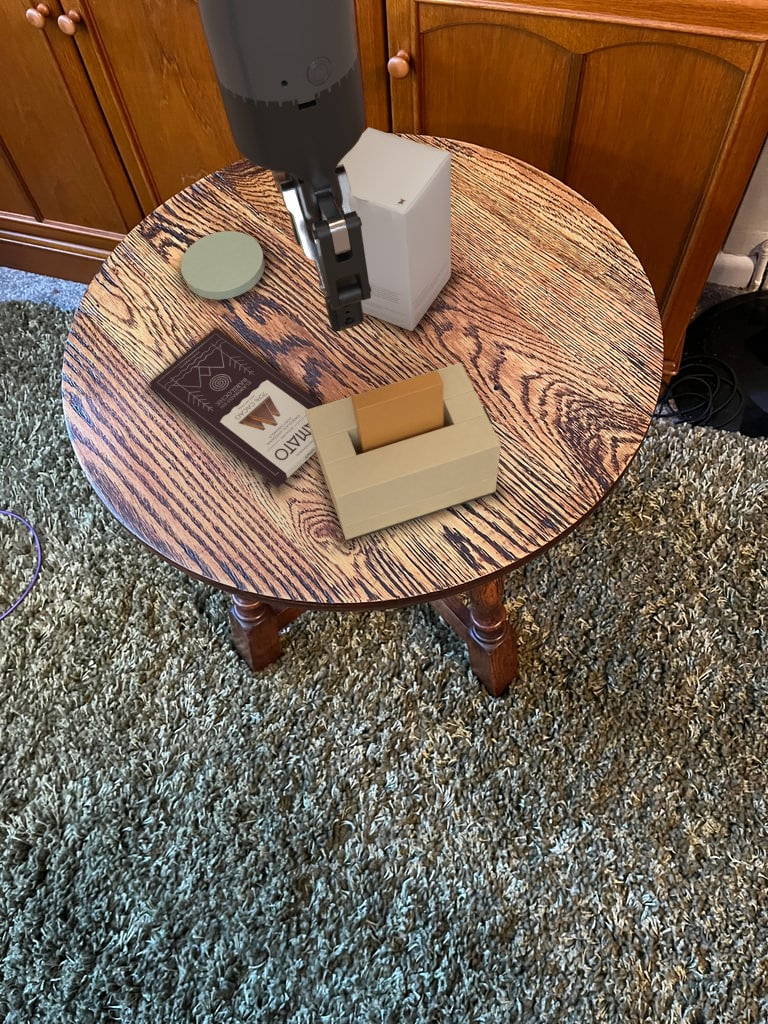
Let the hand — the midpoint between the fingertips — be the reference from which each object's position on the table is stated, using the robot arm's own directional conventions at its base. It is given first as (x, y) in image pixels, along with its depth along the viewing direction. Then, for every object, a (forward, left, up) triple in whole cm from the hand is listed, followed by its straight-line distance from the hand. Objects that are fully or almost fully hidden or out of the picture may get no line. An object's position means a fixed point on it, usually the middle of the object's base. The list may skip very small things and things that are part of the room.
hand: (328, 281), depth 54 cm
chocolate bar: (-9, +8, -21) cm, 24 cm away
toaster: (+3, -5, -21) cm, 22 cm away
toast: (+3, -5, -18) cm, 19 cm away
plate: (-7, +27, -21) cm, 35 cm away
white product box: (+9, +17, -21) cm, 29 cm away
